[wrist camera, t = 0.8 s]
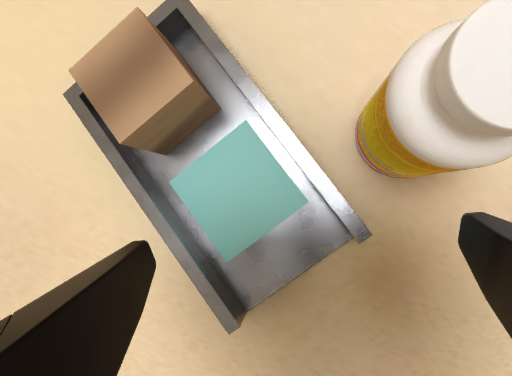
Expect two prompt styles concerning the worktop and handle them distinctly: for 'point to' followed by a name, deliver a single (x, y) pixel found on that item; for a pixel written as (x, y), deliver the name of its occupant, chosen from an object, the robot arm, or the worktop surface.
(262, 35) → the worktop surface
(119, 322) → the robot arm
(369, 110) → the supplement bottle
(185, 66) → the walnut block
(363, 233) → the shallow metal tray
